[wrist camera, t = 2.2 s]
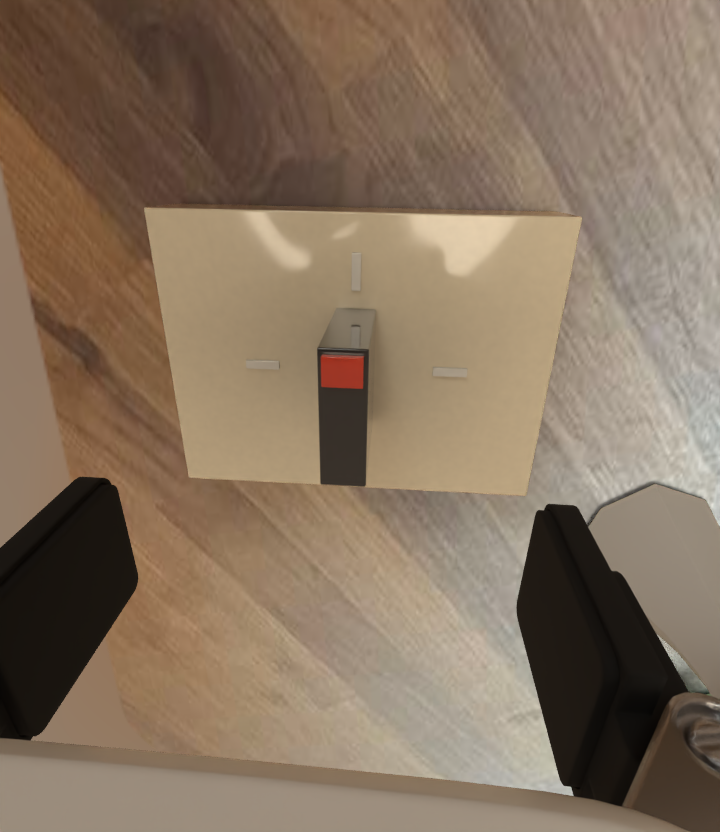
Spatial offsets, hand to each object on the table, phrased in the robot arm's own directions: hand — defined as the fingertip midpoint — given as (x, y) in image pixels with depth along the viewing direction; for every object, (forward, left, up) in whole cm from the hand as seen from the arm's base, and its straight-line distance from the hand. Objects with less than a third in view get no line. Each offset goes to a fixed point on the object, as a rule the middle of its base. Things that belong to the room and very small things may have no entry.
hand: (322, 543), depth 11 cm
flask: (+18, -6, -14) cm, 23 cm away
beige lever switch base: (0, 0, -14) cm, 14 cm away
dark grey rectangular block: (0, 0, -11) cm, 11 cm away
